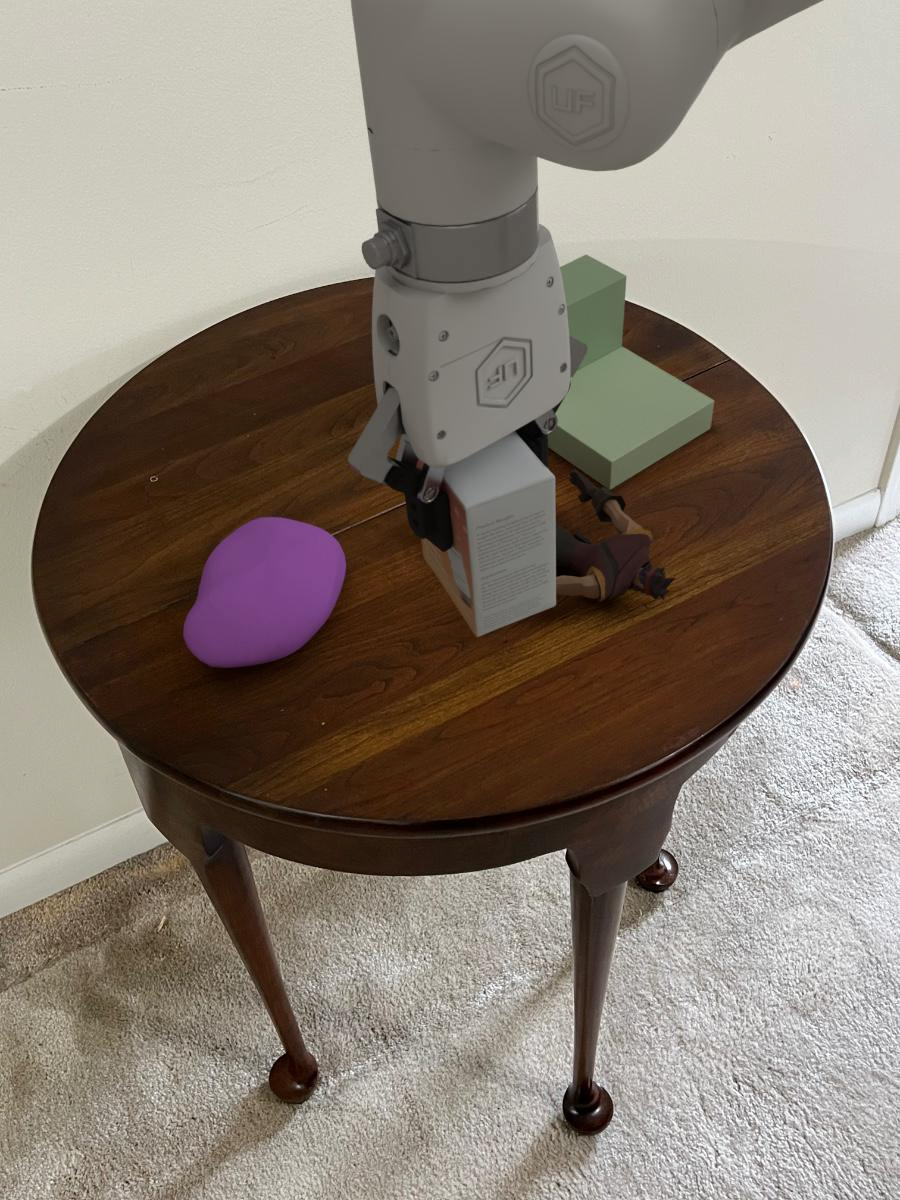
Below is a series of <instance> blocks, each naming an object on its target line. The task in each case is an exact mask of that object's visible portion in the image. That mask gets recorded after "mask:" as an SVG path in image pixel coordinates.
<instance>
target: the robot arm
mask: <svg viewBox="0 0 900 1200" xmlns="http://www.w3.org/2000/svg"><path fill="white" fill-rule="evenodd" d="M823 1H824V0H350V7H351V15H352V22H353V30H354V37H355V47H356V53H357V61H358V62H357V63H358V70H359V77H360V84H361V92H362V100H363V107H364V115H365V123H366V130H367V137H368V146H369V151H370V153H369V154H370V160H371V168H372V175H373V180H374V181H373V183H374V188H375V189H374V190H375V197H376V206H377V208H375V215H376V223H377V232H375V233H374V234H373V237H371V238H369V239H367V240H364V241H363V242H362V243H361V253H362V257H363V260H364V261H365V263H366V265H367V266H368V267H369V268H370V269H371V270H375V271H374V279H373V280H374V281H373V290H372V307H371V348H372V349H371V350H372V351H371V352H372V366H373V379H374V389H375V398H376V403H377V404H376V405H377V407H376V409H375V410H374V412H373V414H372V415H371V417H370V419H369V421H368V422H367V424H366V425H365V427H364V429H363V430H362V432H361V434H360V436H359V437H358V439H357V440H356V442H355V444H354V446H353V448H352V450H351V451H350V453H349V454H348V457H347V464H348V465H349V466H350V467H351V468H352V469H353V470H355V471H356V472H357V473H358V474H360V475H361V476H362V477H364V478H366V479H368V480H371V481H374V482H376V483H379V484H381V485H385V486H387V487H389V488H390V489H391V490H393V491H396V492H399V493H402V494H404V501H405V508H406V515H407V522H408V525H409V528H410V529H411V531H412V532H413V533H414V535H416V536H417V537H418V538H419V539H420V540H421V539H425V538H426V539H427V540H429V541H430V542H431V543H432V544H434V545H435V546H436V547H437V548H438V549H440V550H441V551H442V552H445V551H447V550H449V549H450V548H452V544H454V542H453V533H452V524H451V514H450V503H449V497H448V495H447V494H446V493H445V492H443V491H442V490H441V489H440V487H441V484H442V480H443V477H444V473H445V470H446V466H450V465H452V464H455V463H457V462H459V461H461V460H463V459H465V458H467V457H469V456H470V455H472V454H474V453H476V452H478V451H479V450H481V449H483V448H485V447H487V446H489V445H490V444H492V443H494V442H496V441H498V440H499V439H501V438H503V437H505V436H506V435H508V434H510V433H512V432H513V431H515V432H516V433H517V434H518V435H519V437H520V438H521V439H522V440H523V441H524V442H525V444H526V445H527V446H528V447H529V448H530V450H531V451H532V452H533V453H534V454H535V455H536V456H537V458H538V459H539V460H540V461H541V462H542V463H543V464H544V465H545V466H546V467H547V468H548V469H549V447H548V434H550V433H552V432H553V431H554V430H555V428H556V426H557V423H558V419H557V416H556V415H555V413H556V411H557V410H558V408H559V406H560V405H561V403H562V401H563V400H564V398H565V396H566V395H567V393H568V391H569V389H570V386H571V382H570V378H571V377H572V378H573V376H574V375H575V373H576V371H577V369H578V367H579V366H580V364H581V362H582V360H583V359H584V357H585V355H586V353H587V345H586V344H584V343H583V342H581V341H579V340H577V339H576V338H574V337H572V336H570V335H569V327H568V316H567V307H566V299H565V291H564V286H563V280H562V274H561V270H560V267H561V265H560V262H559V258H558V254H557V251H556V246H555V244H554V240H553V237H552V234H551V232H550V230H549V229H548V228H547V227H546V226H544V225H543V224H541V223H540V219H539V218H540V217H539V216H540V215H539V214H540V211H539V210H540V209H539V175H538V173H539V171H538V168H539V167H538V158H539V159H541V160H544V161H548V162H551V163H554V164H557V165H560V166H562V167H563V166H564V167H568V168H571V169H576V170H582V171H588V172H589V171H590V172H610V171H611V172H612V171H618V170H623V169H626V168H629V167H632V166H636V165H638V164H640V163H642V162H644V161H645V160H646V159H649V158H650V157H651V156H653V155H654V154H655V153H657V152H658V151H659V150H660V149H661V148H662V147H663V146H665V144H667V142H668V141H669V140H670V139H671V138H672V137H673V135H674V134H675V133H676V131H677V130H678V128H679V127H680V125H681V124H682V122H683V121H684V119H685V117H686V116H687V114H688V113H689V111H690V109H691V108H692V106H693V105H694V103H695V102H696V100H697V99H698V97H699V96H700V94H701V92H702V91H703V89H704V88H705V85H706V84H707V83H708V81H709V79H710V77H711V76H712V74H713V72H714V71H715V69H716V68H717V67H718V65H719V63H720V61H722V59H723V58H724V56H725V54H726V53H727V52H729V51H730V50H732V49H733V48H735V47H736V46H738V45H740V44H741V43H743V42H745V41H746V40H749V39H750V38H752V37H754V36H756V35H758V34H759V33H763V31H766V30H768V29H770V28H772V27H773V26H775V25H777V24H779V23H781V22H783V21H785V20H786V19H789V18H790V17H793V16H795V15H797V14H799V13H801V12H803V11H805V10H808V9H809V8H811V7H813V6H815V5H817V4H819V3H822V2H823ZM400 435H401V436H400ZM399 437H400V439H399V443H398V447H397V451H396V454H395V455H396V456H395V458H392V457H391V456H389V454H390V452H391V450H392V449H393V447H394V445H395V443H396V442H397V440H398V438H399ZM418 459H420V460H421V461H423V462H424V464H423V468H422V470H421V469H419V468H417V467H416V466H417V462H418Z"/></svg>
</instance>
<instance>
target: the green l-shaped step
mask: <svg viewBox="0 0 900 1200" xmlns="http://www.w3.org/2000/svg"><path fill="white" fill-rule="evenodd" d="M560 270H561V274H562V280H563V286H564V291H565V299H566V307H567V316H568V327H569V335H570V336H572V337H574V338H576V339H577V340H579V341H581V342H583V343H584V344H586V345H587V353H586V355H585V357H584V359H583V360H582V362H581V364H580V366H579V367H578V369H577V371H576V373H575V375H574V376H573V378H572V377H571V378H570V382H571V386H570V389H569V391H568V393H567V395H566V396H565V398H564V400H563V401H562V403H561V405H560V406H559V408H558V410H557V411H556V413H555V415H556V416H557V419H558V423H557V426H556V428H555V430H554V431H553V432H552V433H550V434H548V449H550V450H551V451H553V452H554V453H556V454H557V455H558V456H560V457H562V458H563V459H564V460H566V461H567V462H568V463H570V464H572V466H574V467H575V468H577V469H579V470H580V471H581V472H583V473H584V474H586V475H587V476H589V477H590V478H591V479H593V480H595V482H597V483H598V484H601V485H602V486H603V487H608V489H609V490H610V491H611V490H613V489H614V488H615V487H617V486H619V485H621V484H622V483H624V482H625V481H628V480H629V479H631V478H632V477H634V476H636V475H637V474H639V473H640V472H642V471H643V470H645V469H647V468H648V467H650V466H651V465H653V464H656V463H657V462H659V461H660V460H661V459H663V458H666V456H668V455H670V454H672V453H673V452H674V451H677V450H678V449H679V448H681V447H683V446H684V445H686V444H688V443H690V442H691V441H693V440H695V439H696V438H698V437H699V436H701V435H703V434H704V433H706V432H707V431H709V430H710V429H711V428H712V420H713V414H714V407H715V400H714V399H713V398H711V397H710V396H708V395H706V394H705V393H702V392H701V391H699V390H698V389H696V388H693V387H692V386H691V385H689V384H688V383H686V382H684V381H682V380H680V379H679V378H677V377H675V376H673V375H671V374H670V373H668V372H666V371H665V370H664V369H662V368H660V367H658V366H657V365H655V364H653V363H652V362H650V361H648V360H647V359H644V358H643V357H641V356H639V355H638V354H636V353H634V352H633V351H631V350H629V349H628V348H626V347H624V346H623V337H624V336H623V335H624V323H625V322H624V321H625V306H626V289H627V275H626V274H624V273H622V272H620V271H618V270H617V269H615V268H612V267H611V266H609V265H607V264H605V263H604V262H601V261H600V260H597V259H596V258H594V257H592V256H590V255H588V254H584V255H581V256H580V257H578V258H576V259H573V260H572V261H570V262H568V263H566V264H564V265H560Z"/></svg>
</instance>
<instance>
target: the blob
mask: <svg viewBox="0 0 900 1200" xmlns="http://www.w3.org/2000/svg"><path fill="white" fill-rule="evenodd" d="M346 570H347V561H346V555H345V553H344V551H343V548H342V546H341V545H340V542H339V541H338V540H337V538H335V537H334V536H333V535H332V534H331V533H330V532H328V531H326V530H325V529H323V528H321V527H318V526H316V525H314V524H311V523H307V522H302V521H298V520H294V519H291V518H285V517H279V516H265V517H258V518H255V519H252V520H250V521H248V522H246V523H245V524H243V525H241V526H239V527H238V528H237V529H236V530H234V531H233V532H232V533H230V534H229V535H228V536H227V537H225V538H224V539H223V540H222V541H221V542H220V543H219V544H217V545H216V547H215V548H214V549H213V550H212V552H211V553H210V554H209V556H208V558H207V560H206V562H205V564H204V566H203V571H202V574H201V576H200V577H201V578H200V582H199V587H198V592H197V596H196V600H195V603H194V604H193V606H192V608H190V610H189V612H188V613H187V615H186V618H185V621H184V623H183V632H182V633H183V634H182V635H183V636H182V637H183V640H184V642H185V645H186V647H187V648H188V650H189V651H190V652H191V653H192V654H193V655H194V656H195V658H197V660H198V661H200V662H201V663H204V664H205V665H207V666H209V667H212V668H222V669H230V668H243V667H250V666H257V665H261V664H262V665H263V664H266V663H271V662H274V661H278V660H280V659H284V658H286V657H288V656H290V655H293V654H294V653H295V652H298V650H299V649H301V648H302V647H303V646H304V645H305V644H306V643H308V642H309V641H310V640H311V639H312V637H314V636H315V635H316V634H317V633H318V631H319V630H320V629H321V628H322V627H323V626H324V624H325V623H326V622H327V620H328V619H329V618H330V616H331V614H332V611H333V610H334V608H335V606H336V603H337V602H338V599H339V597H340V594H341V591H342V587H343V585H344V581H345V577H346V572H347V571H346Z"/></svg>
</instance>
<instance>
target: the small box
mask: <svg viewBox="0 0 900 1200" xmlns="http://www.w3.org/2000/svg"><path fill="white" fill-rule="evenodd" d="M423 464H424V462H423V461H421V460H420V459H418V462H417V466H416V467H417V468H419V469H421V470H422V468H423ZM440 489H441V490H442V491H443V492H445V493H446V494H447V495H448V497H449V503H450V514H451V524H452V533H453V542H454V544H452V548H450V549H449V550H447V551H445V552H442V551H441V550H440V549H438V548H437V547H436V546H435V545H434V544H432V543H431V542H430V541H429V540H427V539H426V538H425V539H421V538H420V541H421V548H422V555H423V559H424V561H425V562H426V564H427V565H428V567H429V568H430V569H431V570H432V572H433V573H434V574H435V576H436V577H437V580H438V581H439V582H440V584H441V585H442V587H443V589H444V590H445V591H446V593H447V594H448V596H449V598H450V599H451V600H452V601H451V602H453V604H454V605H455V607H456V608H457V610H458V611H459V613H460V614H461V616H462V617H463V619H464V621H465V622H466V624H467V626H468V627H469V629H470V630H471V631H472V633H473V635H474V636H475V637H476V638H479V637H482V636H484V635H487V634H488V633H491V632H493V631H496V630H498V629H501V628H504V627H506V626H508V625H511V624H514V623H517V622H519V621H521V620H523V619H526V618H528V617H532V616H534V615H536V614H539V613H541V612H544V611H546V610H550V609H551V608H555V607H556V606H557V594H556V577H557V566H556V524H557V523H556V522H557V521H556V519H557V517H556V516H557V513H556V476H555V474H554V473H553V472H552V471H550V468H549V467H548V468H547V467H546V466H545V465H544V464H543V463H542V462H541V461H540V460H539V459H538V458H537V456H536V455H535V454H534V453H533V452H532V451H531V450H530V448H529V447H528V446H527V445H526V444H525V442H524V441H523V440H522V439H521V438H520V437H519V435H518V434H517V433H516V432H515V431H513V432H512V433H510V434H508V435H506V436H505V437H503V438H501V439H499V440H498V441H496V442H494V443H492V444H490V445H489V446H487V447H485V448H483V449H481V450H479V451H478V452H476V453H474V454H472V455H470V456H469V457H467V458H465V459H463V460H461V461H459V462H457V463H455V464H452V465H450V466H446V470H445V473H444V477H443V480H442V484H441V487H440Z"/></svg>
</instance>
